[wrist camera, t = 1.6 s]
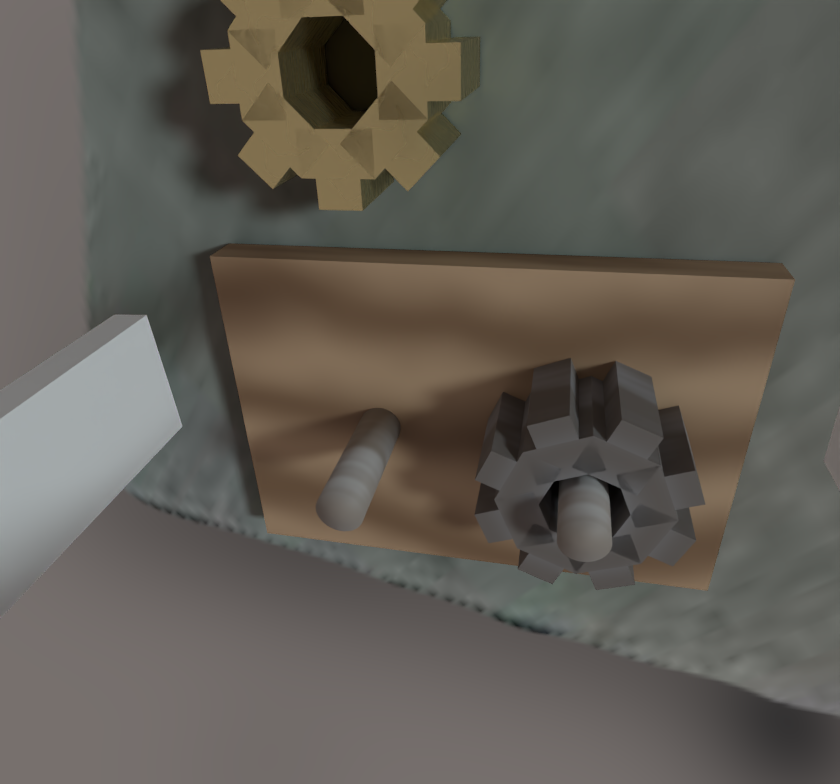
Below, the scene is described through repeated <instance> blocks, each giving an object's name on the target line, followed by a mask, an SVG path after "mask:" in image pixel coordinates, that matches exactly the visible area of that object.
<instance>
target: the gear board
mask: <svg viewBox="0 0 840 784" xmlns="http://www.w3.org/2000/svg"><path fill="white" fill-rule="evenodd" d="M210 260H211V265H212V270H213V275H214V279H215V284H216V289H217V294H218V299H219V303H220V308H221V313H222V318H223V322H224V327H225V332H226V337H227V342H228V346H229V351H230V356H231V361H232V365H233V370H234V375H235V380H236V384H237V389H238V394H239V399H240V404H241V408H242V413H243V418H244V423H245V427H246V432H247V437H248V442H249V447H250V451H251V456H252V461H253V466H254V470H255V475H256V480H257V485H258V490H259V494H260V499H261V504H262V509H263V513H264V518H265V523H266V528H267V533H272V534H280V535H287V536H295V537H303V538H310V539H318V540H325V541H333V542H341V543H348V544H356V545H364V546H371V547H379V548H386V549H394V550H402V551H409V552H417V553H425V554H432V555H440V556H447V557H455V558H463V559H470V560H478V561H486V562H493V563H501V564H508V565H516V566H518V569H519V570H521V571H523V572H526V573H528V574H530V575H532V576H535V577H537V578H539V579H542V580H544V581H546V582H549V583H551V584H553V583H554V581H555V580H556V579H557V577H558V576H559V575H560V573H561V572H569V573H575V574H585V575H590V577H591V580H592V582H593V584H594V587H595V589H596V590H600V589H607V588H614V587H621V586H628V585H635V581H638V582H646V583H653V584H661V585H668V586H676V587H684V588H691V589H699V590H707V591H708V587H709V584H710V580H711V576H712V573H713V569H714V566H715V562H716V559H717V555H718V552H719V548H720V545H721V541H722V537H723V534H724V530H725V527H726V523H727V520H728V516H729V513H730V509H731V505H732V502H733V498H734V495H735V491H736V488H737V484H738V481H739V477H740V474H741V470H742V466H743V463H744V459H745V456H746V452H747V449H748V445H749V442H750V438H751V434H752V431H753V427H754V424H755V420H756V417H757V413H758V410H759V406H760V403H761V399H762V395H763V392H764V388H765V385H766V381H767V378H768V374H769V371H770V367H771V363H772V360H773V356H774V353H775V349H776V346H777V342H778V339H779V335H780V331H781V328H782V324H783V321H784V317H785V314H786V310H787V307H788V303H789V300H790V296H791V292H792V289H793V285H794V282H795V279H794V278H793V276H792V275H791V274H790V273H789V271H788V270H787V269H786V268H785V266H784V265H783V264H782V263H764V262H736V261H708V260H679V259H651V258H623V257H594V256H566V255H538V254H509V253H481V252H453V251H424V250H396V249H368V248H339V247H311V246H283V245H255V244H227V245H226V246H224V247H223V248H221V249H220V250H218V251H217V252H215V253H214V254H212V255H211V256H210Z"/></svg>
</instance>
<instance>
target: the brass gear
mask: <svg viewBox="0 0 840 784" xmlns="http://www.w3.org/2000/svg"><path fill="white" fill-rule="evenodd" d="M446 1H447V0H221V2H222V3H223V4H224V5H225V6H226V7H227V8H228V9H229V10H230V11H231V12H232V13H233V14H234V15H235V16H236V17H235V19H234V20H233V22H232V24H231V25H230V27H229V29H228V30H227V31H228V37H229V43H230V47H224V48H215V49H206V50H200V52H201V57H202V62H203V68H204V73H205V79H206V84H207V89H208V95H209V100H210V104H240V111H241V117H242V121H243V122H244V123H245V124H246V125H247V126H248V127H249V128H250V129H251V130H252V131H253V132H254V133H253V135H252V136H251V137H250V139H249V140H248V142H247V143H246V145H245V146H244V147H243V149H242V150H241V152H240V153H239V154H238V156H239V157H240V158H241V159H242V160H243V161H244V162H245V163H246V164H247V165H248V166H249V167H250V168H251V169H252V170H253V171H254V172H256V173H257V174H258V175H259V176H260V177H261V178H262V179H263V180H264V181H265V182H266V183H267V184H268V185H269V186H270V187H271V188H272V189H274V188H276V187H277V186H279V185H281V184H283V183H284V182H286V181H288V180H289V179H291V178H293V177H294V176H296V175H298V176H300V177H301V178H307V179H316V185H317V194H318V203H319V210H356V211H363V210H364V209H365V208H366V207H367V206H368V205H369V204H370V203H371V202H372V201H374V200H375V199H376V198H377V197H378V196H379V195H380V194H381V193H382V192H383V191H384V190H385V189H386V188H387V187H388V186H390V185H391V184H392V183H393V182H394V178H395V179H396V180H397V181H398V182H399V183H400V184H401V185H402V186H403V187H404V188H405V189H406V190H407V191H409V190H410V189H411V188H412V186H413V185H414V184H415V183H416V182H417V181H418V180H419V179H420V178H421V177H422V176H423V175H424V174H425V173H426V171H427V170H428V169H429V168H430V167H431V166H432V165H433V164H434V163H435V162H436V161H437V160H438V159H439V157H440V156H441V155H442V154H443V153H444V152H445V151H446V150H447V149H448V148H449V147H450V146H451V145H452V143H453V142H454V141H455V140H456V139H457V138H458V137H459V136H460V135H461V133H460V132H459V131H458V130H457V129H456V128H455V127H454V126H453V125H452V124H451V123H450V121H449V120H448V119H447V118H446V117H445V116H444V115H443V114H442V112H443V111H444V110H445V109H446V107H447V106H448V105H449V104H450V103H451V101H461V100H463V99H464V98H465V97H467V96H468V95H469V94H470V93H472V92H473V91H474V90H475V89H477V88H478V87H479V86H480V37H455V38H451V22H450V20H449V18H448V17H447V16H446V15H445V14H444V13H443V12H442V11H441V9H440V8H441V7H442V6H443V5H444V3H445V2H446ZM344 18H345V19H346V20H347V21H348V22H349V23H350V24H351V25H352V26H353V27H354V28H355V29H356V30H357V31H358V32H359V34H360V35H361V36H362V37H363V38H364V39H365V40H366V41H367V42H368V43H369V44H370V45H371V46H372V47H373V49H374V50H375V61H376V77H377V93H378V98H377V99H376V100H375V101H374V103H373V104H372V105H371V106H370V107H369V109H368V110H367V111H353V110H352V109H351V108H350V107H349V106H348V105H347V104H346V103H345V101H344V100H343V99H342V98H341V97H340V96H339V95H338V94H337V93H336V92H335V91H334V90H333V89H332V88H331V87H330V86H329V85H328V76H327V66H326V56H325V45H326V43H327V42H328V40H329V39H330V38H331V36H332V35H333V33H334V32H335V31H336V29H337V28H338V26H339V25H340V24H341V22H342V21H343V19H344ZM393 177H394V178H393Z"/></svg>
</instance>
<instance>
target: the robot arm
mask: <svg viewBox="0 0 840 784" xmlns="http://www.w3.org/2000/svg"><path fill="white" fill-rule="evenodd" d="M181 427H182V423H181V420H180V417H179V414H178V411H177V408H176V405H175V402H174V398H173V395H172V392H171V389H170V386H169V383H168V380H167V377H166V374H165V370H164V367H163V364H162V361H161V358H160V355H159V352H158V349H157V346H156V343H155V339H154V336H153V333H152V330H151V327H150V324H149V321H148V318H147V315H113V316H112V317H110V318H109V319H107V320H106V321H104V322H102V323H101V324H99V325H98V326H96V327H95V328H93V329H92V330H90V331H89V332H87V333H86V334H84V335H83V336H81V337H80V338H78V339H77V340H75V341H74V342H72V343H71V344H69V345H68V346H66V347H65V348H63V349H62V350H60V351H59V352H57V353H56V354H54V355H53V356H51V357H49V358H48V359H46V360H45V361H43V362H42V363H40V364H39V365H38V366H36V367H34V368H33V369H31V370H30V371H28V372H27V373H25V374H24V375H22V376H21V377H19V378H18V379H16V380H15V381H13V382H12V383H10V384H9V385H7V386H6V387H4V388H3V389H1V390H0V618H1V617H2V616H3V615H4V614H5V613H6V612H7V611H8V610H9V609H10V608H11V607H12V606H13V605H14V604H15V602H16V601H17V600H18V599H19V598H20V597H21V596H22V595H23V594H24V593H25V592H26V591H27V590H28V589H29V588H30V587H31V586H32V585H33V583H34V582H35V581H36V580H37V579H38V578H39V577H40V576H41V575H42V574H43V573H44V572H45V571H46V570H47V568H48V567H50V566H51V564H52V563H53V562H54V561H55V560H56V559H57V558H58V557H59V556H60V555H61V554H62V553H63V552H64V551H65V550H66V549H67V548H68V547H69V546H70V544H71V543H72V542H73V541H74V540H75V539H76V538H77V537H78V536H79V535H80V534H81V533H82V532H83V531H84V529H86V528H87V527H88V525H89V524H90V523H91V522H92V521H93V520H94V519H95V518H96V517H97V516H98V515H99V514H100V513H101V512H102V511H103V510H104V509H105V508H106V506H107V505H108V504H109V503H110V502H111V501H112V500H113V499H114V498H115V497H116V496H117V495H118V494H119V493H120V492H121V491H122V490H123V489H124V488H125V486H126V485H127V484H128V483H129V482H130V481H131V480H132V479H133V478H134V477H135V476H136V475H137V474H138V473H139V472H140V471H141V470H142V469H143V467H144V466H145V465H146V464H147V463H148V462H149V461H150V460H151V459H152V458H153V457H154V456H155V455H156V454H157V453H158V452H159V451H160V450H161V448H162V447H163V446H164V445H165V444H166V443H167V442H168V441H169V440H170V439H171V438H172V437H173V436H174V435H175V434H176V433H177V432H178V431H179V429H180V428H181ZM824 463H825V465H826V467H827V468H828V470H829V472H830V474H831V476H832V478H833V480H834V481H835V483H836V485H837V487H838V489H839V491H840V407H839V410H838V413H837V417H836V420H835V424H834V427H833V431H832V434H831V437H830V441H829V444H828V448H827V451H826V455H825V458H824Z"/></svg>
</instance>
